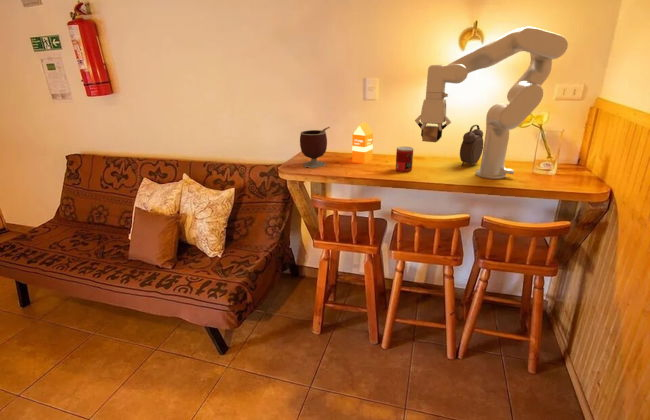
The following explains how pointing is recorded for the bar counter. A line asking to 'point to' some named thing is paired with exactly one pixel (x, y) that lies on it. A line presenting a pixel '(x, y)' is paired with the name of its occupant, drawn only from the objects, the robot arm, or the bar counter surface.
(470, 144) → the alarm clock
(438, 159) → the bar counter surface
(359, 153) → the orange juice
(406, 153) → the canned food
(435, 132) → the walnut cube
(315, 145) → the mate gourd
